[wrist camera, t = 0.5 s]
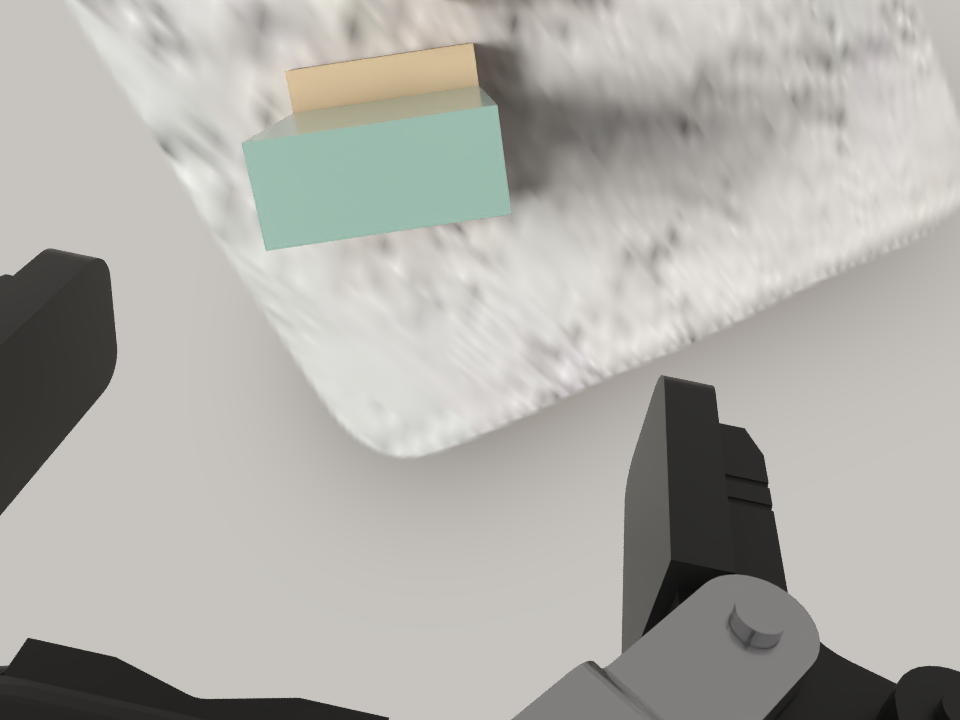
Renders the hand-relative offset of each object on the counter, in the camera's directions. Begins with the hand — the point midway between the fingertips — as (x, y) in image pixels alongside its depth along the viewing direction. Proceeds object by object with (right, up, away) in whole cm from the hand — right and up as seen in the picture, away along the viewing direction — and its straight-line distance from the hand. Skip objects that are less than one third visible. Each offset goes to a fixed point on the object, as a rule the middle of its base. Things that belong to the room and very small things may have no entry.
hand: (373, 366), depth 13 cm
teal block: (-2, +8, +22) cm, 23 cm away
